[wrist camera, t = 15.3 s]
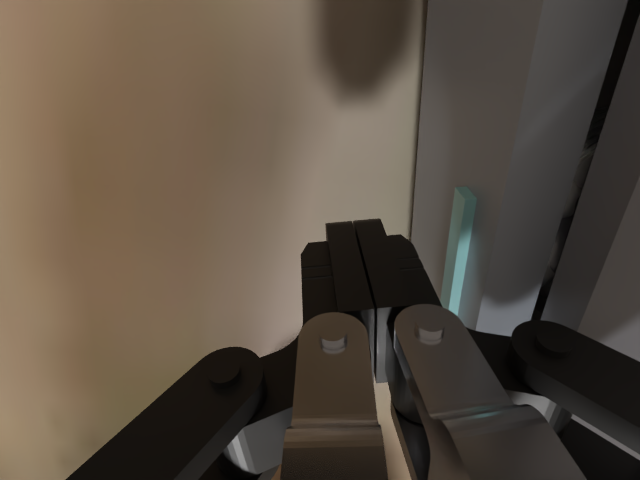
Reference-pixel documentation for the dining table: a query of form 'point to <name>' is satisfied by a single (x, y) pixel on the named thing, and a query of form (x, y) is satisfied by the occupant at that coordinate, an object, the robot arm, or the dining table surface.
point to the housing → (607, 234)
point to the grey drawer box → (506, 142)
